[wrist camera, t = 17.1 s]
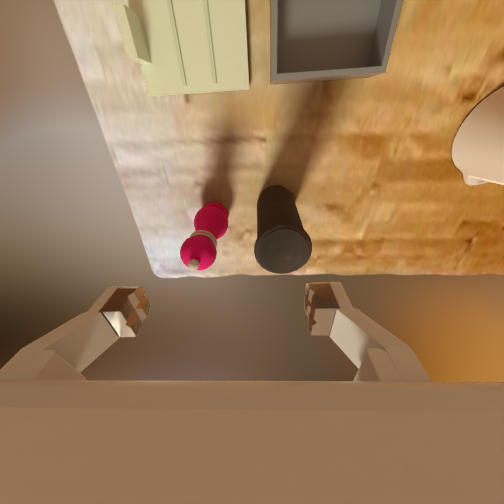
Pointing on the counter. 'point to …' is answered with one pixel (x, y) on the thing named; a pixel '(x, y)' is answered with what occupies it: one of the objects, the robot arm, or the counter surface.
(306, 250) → the container
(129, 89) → the counter surface
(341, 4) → the tub
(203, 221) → the pepper mill
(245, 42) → the lid
